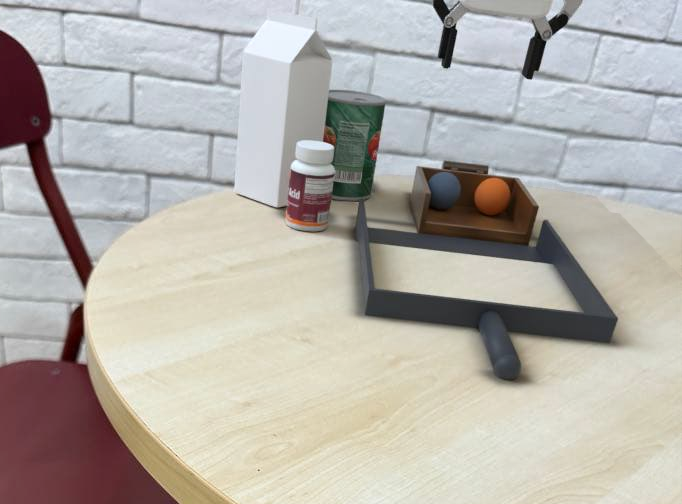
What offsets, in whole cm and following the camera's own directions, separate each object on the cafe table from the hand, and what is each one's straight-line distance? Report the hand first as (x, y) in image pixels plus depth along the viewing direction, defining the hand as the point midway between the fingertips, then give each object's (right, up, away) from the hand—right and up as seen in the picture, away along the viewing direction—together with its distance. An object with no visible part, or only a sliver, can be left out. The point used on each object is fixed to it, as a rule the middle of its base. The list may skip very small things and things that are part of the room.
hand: (486, 72), depth 99 cm
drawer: (-2, -16, +3) cm, 17 cm away
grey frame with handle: (-6, -32, -19) cm, 38 cm away
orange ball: (+1, -13, +3) cm, 14 cm away
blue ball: (-5, -13, +3) cm, 14 cm away
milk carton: (-25, -14, +3) cm, 28 cm away
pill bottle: (-21, -20, -5) cm, 29 cm away
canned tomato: (-16, -11, +8) cm, 21 cm away
